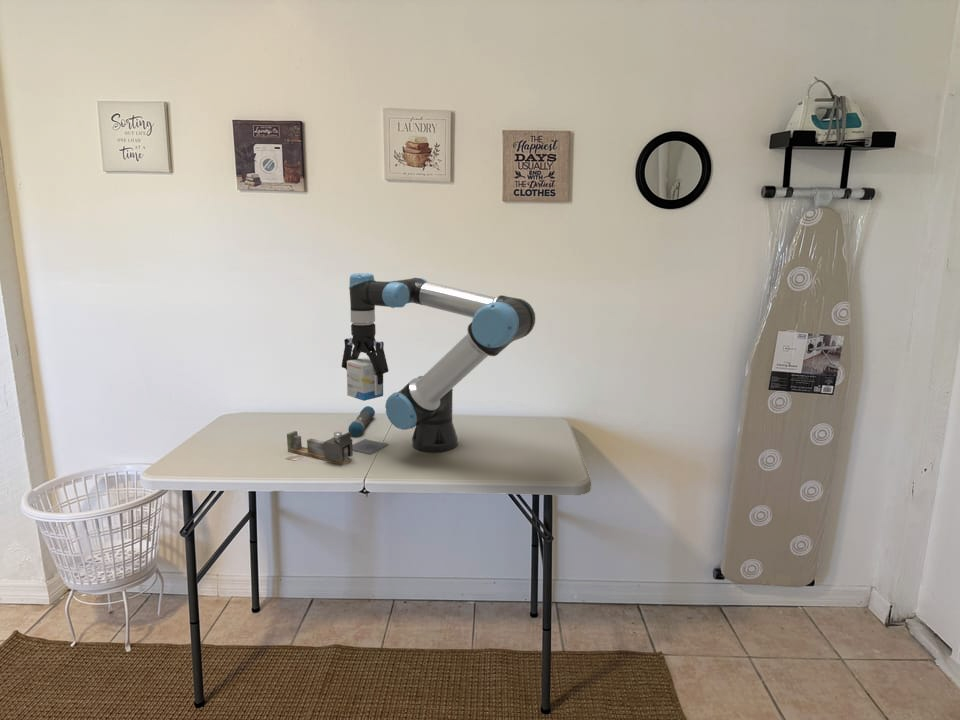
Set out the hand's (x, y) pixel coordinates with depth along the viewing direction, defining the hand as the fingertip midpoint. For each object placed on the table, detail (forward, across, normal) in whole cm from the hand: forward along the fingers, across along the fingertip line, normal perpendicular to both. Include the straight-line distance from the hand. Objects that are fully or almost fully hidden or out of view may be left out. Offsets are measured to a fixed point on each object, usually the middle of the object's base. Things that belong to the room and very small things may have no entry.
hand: (365, 391), depth 197 cm
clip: (+17, 0, +14) cm, 22 cm away
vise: (+19, +8, +16) cm, 26 cm away
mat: (+19, 0, 0) cm, 19 cm away
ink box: (+2, 0, 0) cm, 2 cm away
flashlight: (+19, +14, -15) cm, 28 cm away
